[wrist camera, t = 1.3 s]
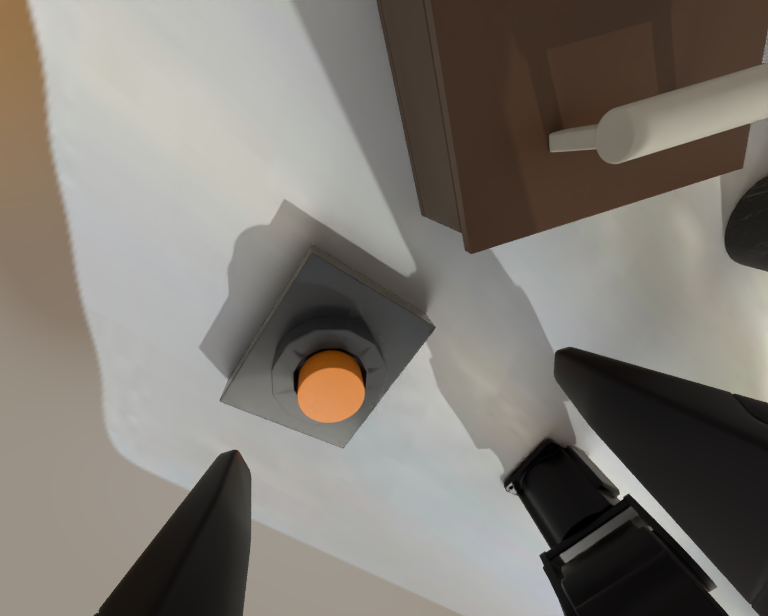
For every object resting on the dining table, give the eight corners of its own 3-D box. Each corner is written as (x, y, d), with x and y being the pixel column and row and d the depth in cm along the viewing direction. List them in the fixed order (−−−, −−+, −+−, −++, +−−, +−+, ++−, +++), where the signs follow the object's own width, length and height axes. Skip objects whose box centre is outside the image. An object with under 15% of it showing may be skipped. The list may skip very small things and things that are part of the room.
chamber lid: (726, 168, 16) (883, 168, 12) (464, 250, 15) (525, 285, 11) (789, -222, 11) (1112, -489, 7) (402, -129, 10) (467, -362, 6)
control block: (341, 427, 26) (345, 469, 22) (227, 380, 23) (210, 421, 19) (426, 313, 23) (446, 340, 20) (312, 244, 20) (310, 260, 16)
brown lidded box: (618, 155, 21) (728, 150, 16) (421, 215, 21) (461, 233, 15) (627, -88, 17) (787, -220, 11) (371, -22, 16) (402, -128, 10)
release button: (340, 410, 21) (342, 431, 19) (287, 387, 19) (284, 408, 18) (372, 366, 20) (377, 384, 18) (319, 339, 19) (319, 356, 17)
